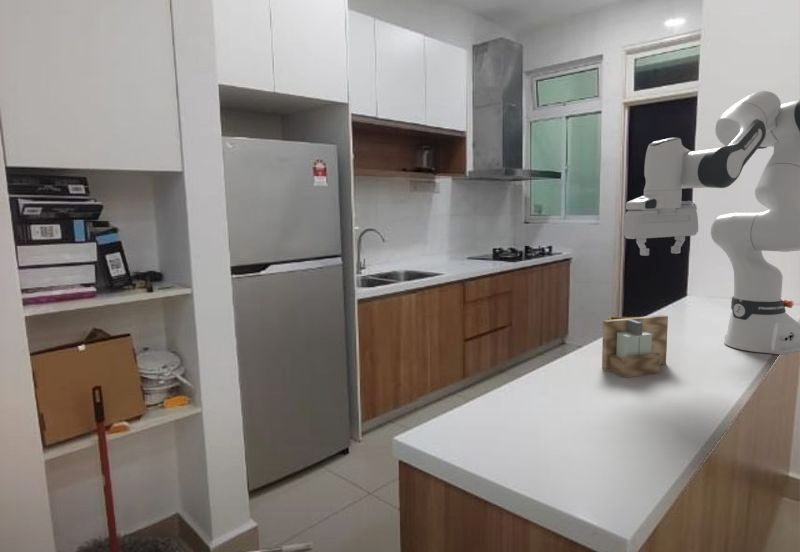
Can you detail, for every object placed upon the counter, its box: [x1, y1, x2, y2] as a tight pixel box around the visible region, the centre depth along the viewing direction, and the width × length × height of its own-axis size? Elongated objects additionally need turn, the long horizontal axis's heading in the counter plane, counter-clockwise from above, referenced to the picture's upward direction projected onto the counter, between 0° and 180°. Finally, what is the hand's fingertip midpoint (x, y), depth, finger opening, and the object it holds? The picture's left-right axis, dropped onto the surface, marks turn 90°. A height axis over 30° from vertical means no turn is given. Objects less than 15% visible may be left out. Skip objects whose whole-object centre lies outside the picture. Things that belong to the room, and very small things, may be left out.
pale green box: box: [616, 319, 652, 358], centre depth 125 cm, size 7×4×9 cm, turn 101°
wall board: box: [601, 314, 669, 379], centre depth 126 cm, size 18×8×13 cm, turn 101°
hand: (660, 254), depth 131 cm, fingers open, 8 cm apart
